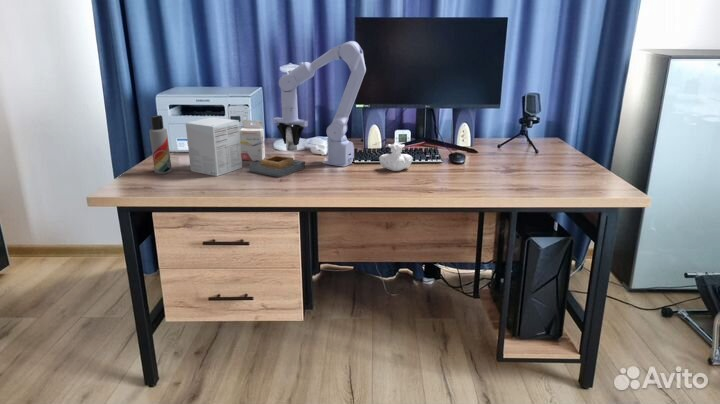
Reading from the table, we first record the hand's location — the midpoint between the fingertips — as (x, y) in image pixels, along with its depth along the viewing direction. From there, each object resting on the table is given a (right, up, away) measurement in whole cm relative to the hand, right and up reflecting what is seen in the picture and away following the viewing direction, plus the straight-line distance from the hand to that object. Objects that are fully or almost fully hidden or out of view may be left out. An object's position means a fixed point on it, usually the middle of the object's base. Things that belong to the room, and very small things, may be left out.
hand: (291, 144), depth 201 cm
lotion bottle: (-44, -11, -11) cm, 47 cm away
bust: (+38, -10, -9) cm, 41 cm away
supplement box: (-26, -10, -8) cm, 29 cm away
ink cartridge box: (-16, -5, +6) cm, 17 cm away
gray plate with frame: (-5, -10, -8) cm, 14 cm away
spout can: (0, -2, +1) cm, 2 cm away
